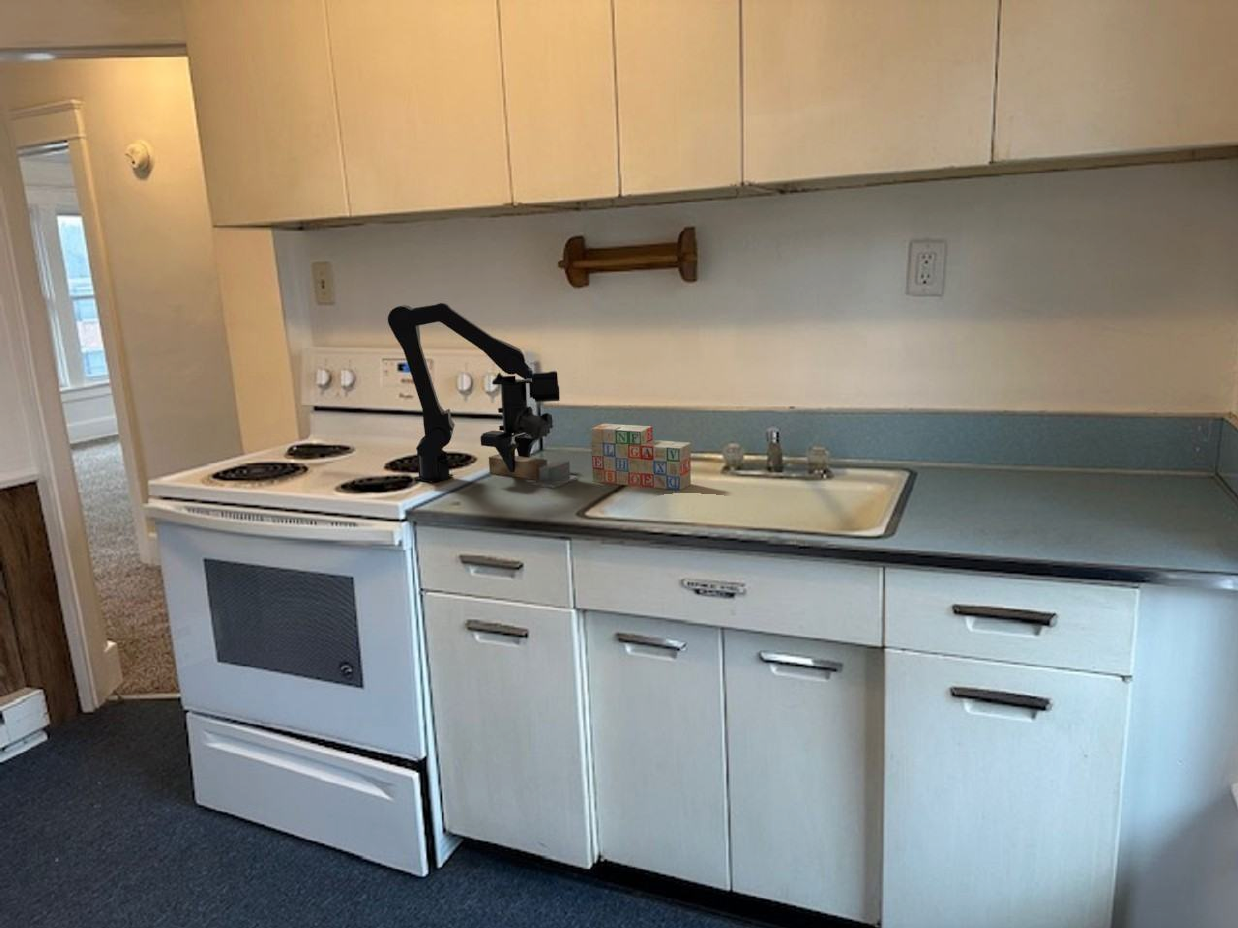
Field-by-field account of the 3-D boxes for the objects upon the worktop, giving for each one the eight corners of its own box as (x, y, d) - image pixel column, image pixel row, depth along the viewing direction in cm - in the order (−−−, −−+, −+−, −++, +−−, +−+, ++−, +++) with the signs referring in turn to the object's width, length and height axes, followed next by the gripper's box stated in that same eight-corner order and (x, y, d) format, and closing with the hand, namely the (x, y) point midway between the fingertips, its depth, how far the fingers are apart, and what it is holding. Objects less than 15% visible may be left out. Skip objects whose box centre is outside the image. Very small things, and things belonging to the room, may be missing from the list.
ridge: (532, 485, 190) (531, 467, 189) (556, 476, 198) (555, 458, 197) (554, 488, 187) (553, 470, 186) (577, 478, 195) (577, 461, 194)
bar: (489, 473, 202) (488, 457, 202) (501, 470, 206) (500, 453, 205) (536, 480, 195) (535, 463, 194) (547, 476, 198) (546, 459, 197)
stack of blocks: (691, 484, 188) (691, 428, 185) (680, 491, 183) (679, 434, 180) (605, 475, 198) (603, 422, 195) (591, 481, 192) (589, 427, 190)
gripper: (516, 412, 185) (520, 483, 188) (567, 399, 200) (569, 464, 204) (476, 408, 190) (481, 477, 194) (528, 396, 206) (532, 460, 209)
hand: (518, 469), depth 200 cm, fingers closed on bar, 4 cm apart
